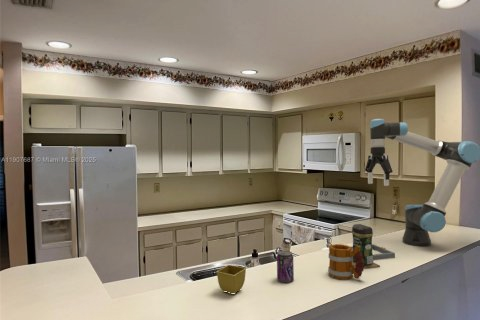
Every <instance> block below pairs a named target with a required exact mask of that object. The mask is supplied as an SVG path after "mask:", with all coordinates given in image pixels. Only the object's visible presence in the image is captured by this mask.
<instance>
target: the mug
mask: <svg viewBox="0 0 480 320" xmlns="http://www.w3.org/2000/svg"><path fill="white" fill-rule="evenodd" d="M360 248H361V247H360V246H359V245H358V246H356V247H355V248H354V249H353V250H352V248H351V246H350V245H348V244H347V245H346V244H341V243H340V244H339V243H337V244H336V243H335V244H331V245H329V247H328V252H329V253H328V259H329V264H328V265H329V266H328V267H327V268H328V269H327V271H328V276H330V277H331V278H333V279H335V280H336V279H337V280H343V281H344V280H350V279H352V278H355V279H357V280H358V279H360V278H361V277H362V274H363V272H364V270H365V269H364V260H363V256H362V254H361V252H359V251H360ZM353 256H354V258H355V260H356V262H357V263H356V266H355V267H354V266H353V265H352V259H353Z"/></svg>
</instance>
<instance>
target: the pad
mask: <svg viewBox="0 0 480 320" xmlns="http://www.w3.org/2000/svg"><path fill="white" fill-rule="evenodd" d="M352 265H353V266H354V267H355V266H356V262H354V261H353V260H352ZM380 267H381V265H380V264H378V263H376V262H374V261H373V263H372V264H371V265H364V270H365V269H373V268H374V269H376V268H380Z"/></svg>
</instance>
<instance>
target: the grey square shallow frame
mask: <svg viewBox="0 0 480 320" xmlns="http://www.w3.org/2000/svg"><path fill="white" fill-rule="evenodd" d="M350 247H351V248H352V250H353V245H352V246H350ZM372 250H374V251H375V252H378V253H377V254H373V261H379V260H387V259H395V258H396V253H395V252H394V251H391V250H389V249H386V247H384V246H379V245H376V244H373V243H372Z"/></svg>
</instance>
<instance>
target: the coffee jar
mask: <svg viewBox="0 0 480 320" xmlns="http://www.w3.org/2000/svg"><path fill="white" fill-rule="evenodd" d="M351 227H352V229H351V234H352V235H351V236H352V246H353V249H354V248H355V247H356V246H358V245H359V246H360V247H361V248H360V251H359V252H361V254H362V256H363V260H364V265H371V264H372V263H373V262H374V260H373V255H374V254H373V249H372V244H373V234H374V233H373V228H372V227H371V226H367V225H365V224H362V223H355V224H353V225H352V226H351ZM352 260H353V261H354V262H356V260H355V258H354V256H353V259H352ZM356 263H357V262H356Z"/></svg>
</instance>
